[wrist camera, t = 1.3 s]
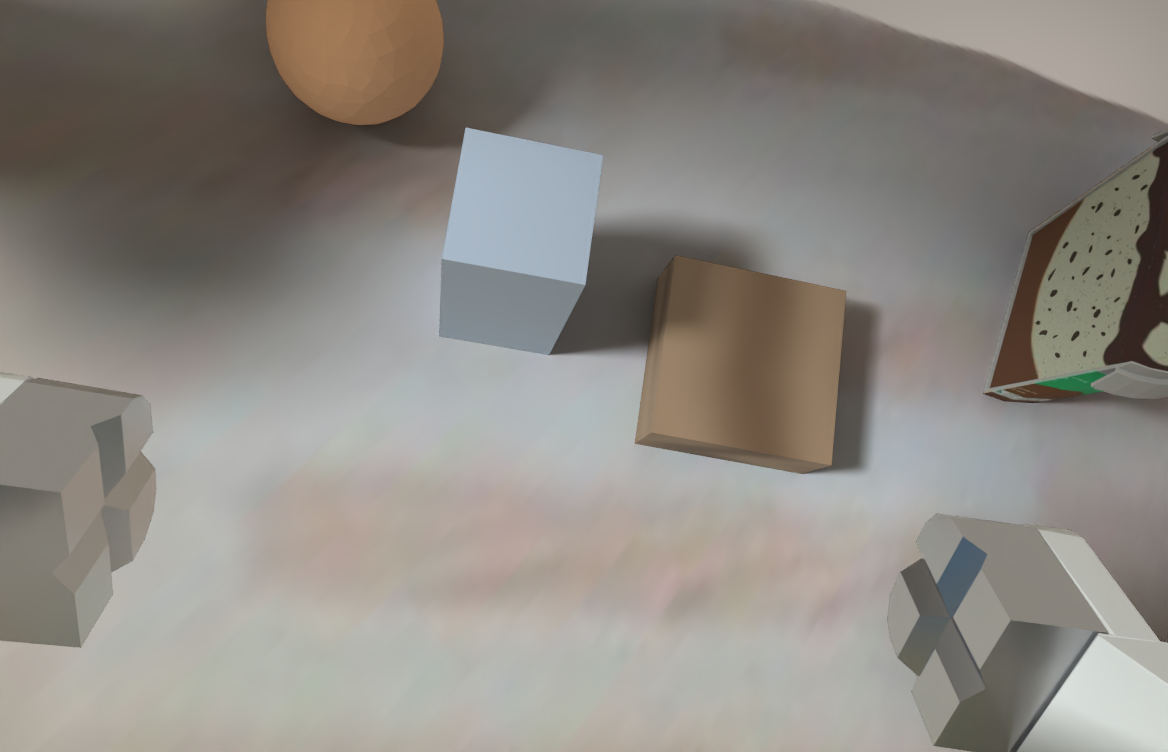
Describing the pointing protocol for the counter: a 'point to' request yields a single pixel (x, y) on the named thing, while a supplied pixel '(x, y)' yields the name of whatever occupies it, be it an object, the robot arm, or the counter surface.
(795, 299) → the walnut block
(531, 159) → the slate-blue painted block
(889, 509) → the counter surface
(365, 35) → the egg
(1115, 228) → the food container
